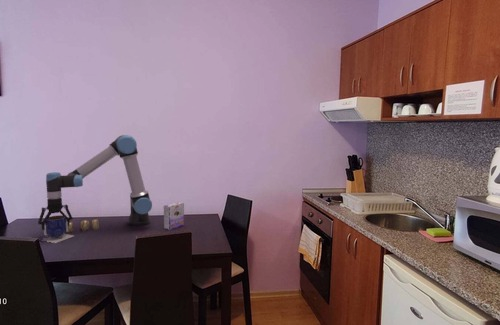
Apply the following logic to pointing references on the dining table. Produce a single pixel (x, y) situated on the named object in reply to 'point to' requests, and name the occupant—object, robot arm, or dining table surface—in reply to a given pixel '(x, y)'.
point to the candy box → (173, 215)
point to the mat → (59, 238)
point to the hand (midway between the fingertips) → (56, 232)
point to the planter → (55, 226)
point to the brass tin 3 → (95, 224)
